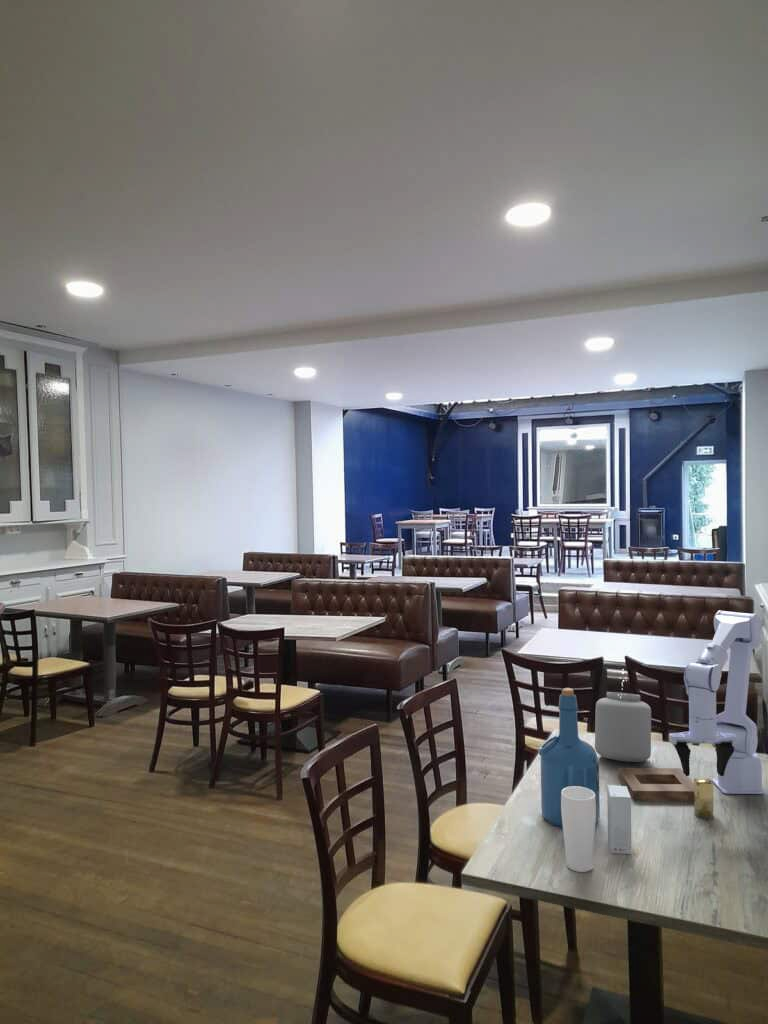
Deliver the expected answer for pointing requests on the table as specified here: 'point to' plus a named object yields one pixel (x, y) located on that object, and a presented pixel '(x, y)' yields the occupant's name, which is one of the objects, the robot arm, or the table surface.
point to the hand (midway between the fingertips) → (703, 774)
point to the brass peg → (703, 798)
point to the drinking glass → (578, 826)
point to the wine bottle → (566, 762)
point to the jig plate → (657, 784)
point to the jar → (623, 727)
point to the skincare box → (619, 819)
